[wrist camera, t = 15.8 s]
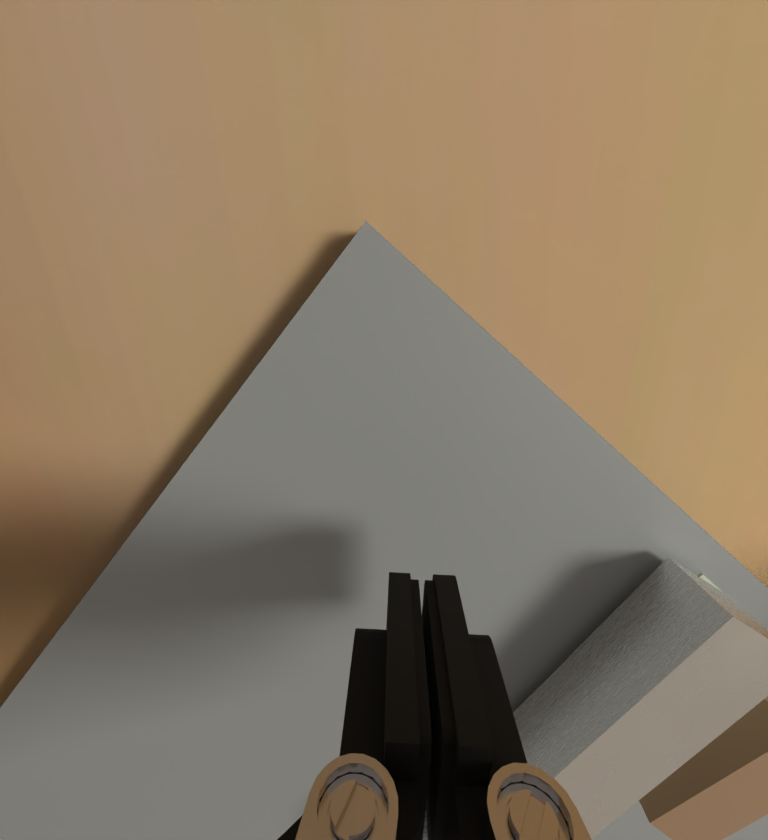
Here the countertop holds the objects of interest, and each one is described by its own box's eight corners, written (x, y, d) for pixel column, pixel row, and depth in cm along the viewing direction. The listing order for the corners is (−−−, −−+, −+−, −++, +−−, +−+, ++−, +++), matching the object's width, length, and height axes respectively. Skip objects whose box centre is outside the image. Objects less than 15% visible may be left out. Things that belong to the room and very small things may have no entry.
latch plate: (-39, 769, 18) (-144, 875, 15) (370, 230, 11) (353, 193, 8) (411, 1031, 22) (412, 1167, 18) (934, 744, 15) (1097, 876, 11)
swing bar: (447, 874, 16) (456, 998, 13) (365, 832, 16) (355, 950, 13) (745, 606, 12) (853, 698, 9) (645, 541, 12) (724, 616, 9)
